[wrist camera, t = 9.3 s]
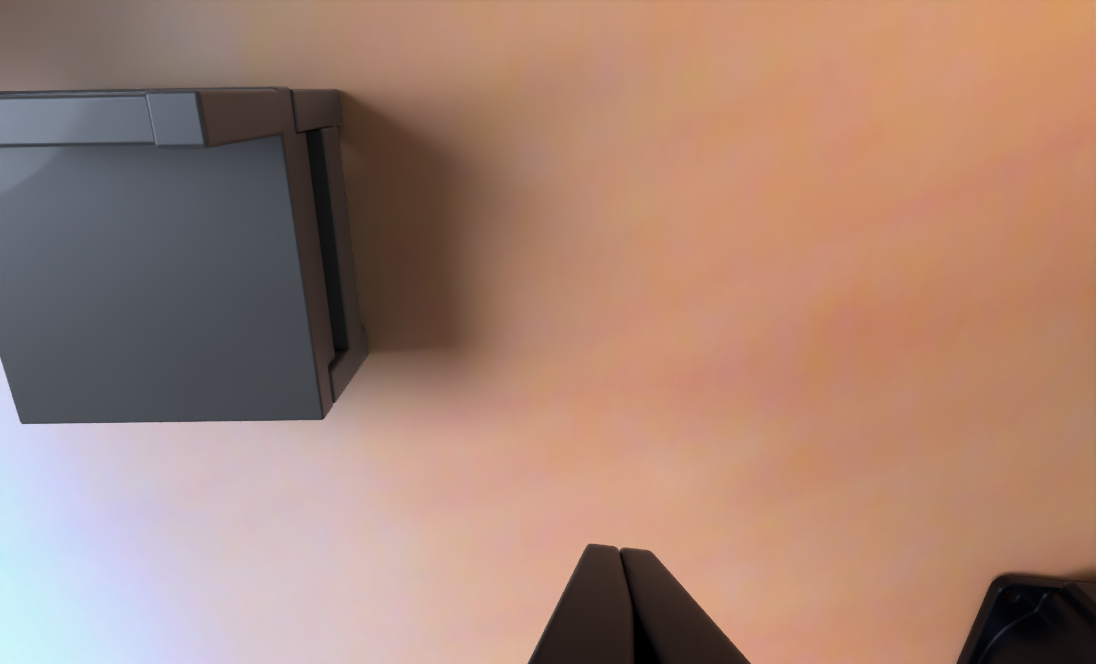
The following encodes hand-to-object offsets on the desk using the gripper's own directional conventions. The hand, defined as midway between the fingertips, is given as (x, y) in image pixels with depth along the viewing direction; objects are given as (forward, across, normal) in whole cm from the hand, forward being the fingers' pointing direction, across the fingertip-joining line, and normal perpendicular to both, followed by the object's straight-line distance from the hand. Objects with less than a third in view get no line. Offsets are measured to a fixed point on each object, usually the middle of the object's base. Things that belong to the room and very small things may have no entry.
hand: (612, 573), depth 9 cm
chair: (+12, +10, -1) cm, 15 cm away
